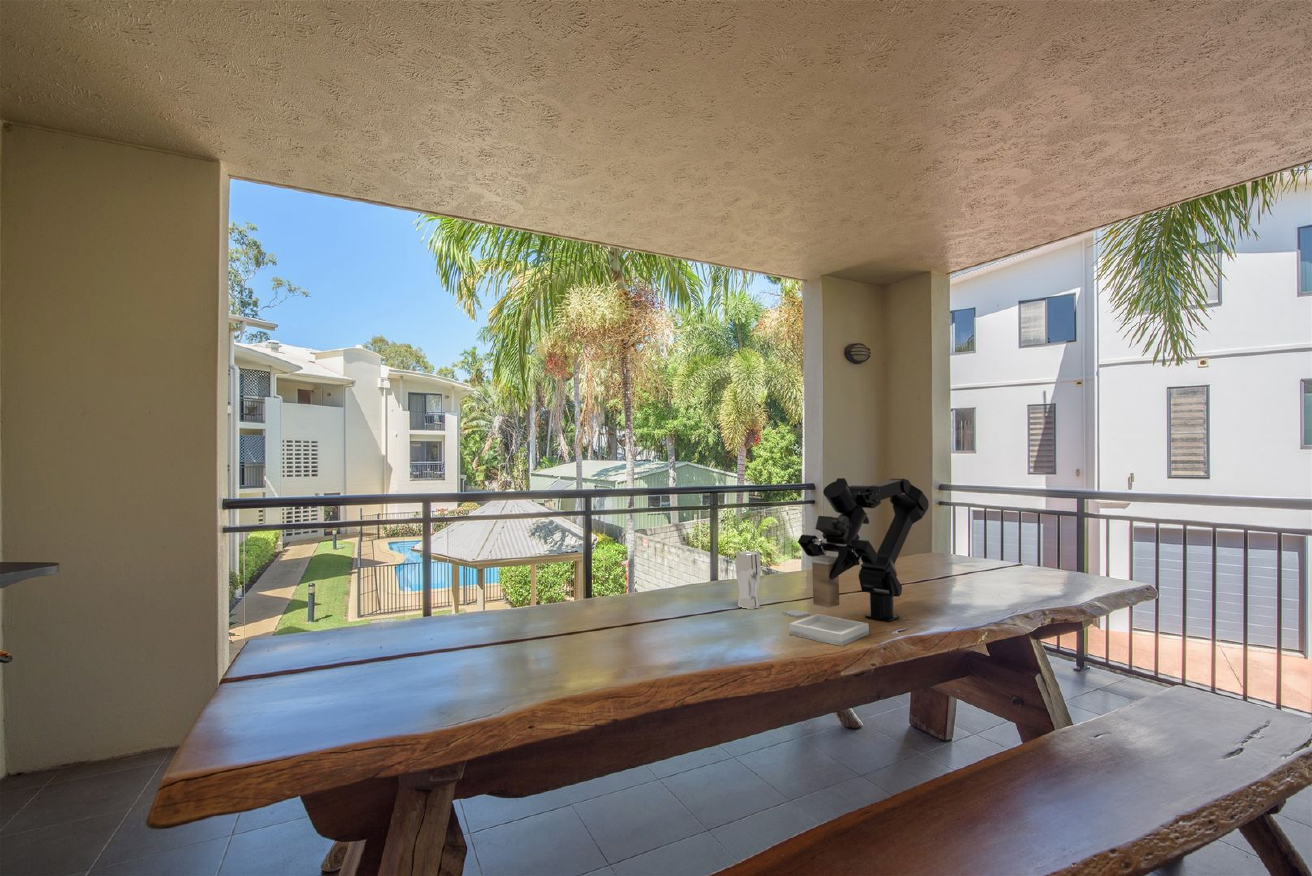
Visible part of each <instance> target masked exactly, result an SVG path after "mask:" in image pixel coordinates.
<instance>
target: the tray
mask: <svg viewBox="0 0 1312 876" xmlns="http://www.w3.org/2000/svg"><path fill="white" fill-rule="evenodd" d="M788 625H789V626H788V627H789V632H788V633H789V635H790V636H794V635H795V636H794V637H798V638H799V637H800V638H804V639H807V640H808V639H809V640H813V641H816V642H821V643H825V644H829V645H834V646H837V647H838V646H840V647H843V646H846V645H848V644H850V643H853V642H855V641H857V640H859V639H862V638H864V637H866V636H869V635H870V633H869V630H870V629H869V627H870V626H869V623H867V622H862V621H857V620H851V619H846V618H842V617H837V616H831V615H825V614H820V613H816V614H814V615H810V616H807V617H803V618H800V619H799V620H796V621H792V622H790V623H789V624H788Z"/></svg>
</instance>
